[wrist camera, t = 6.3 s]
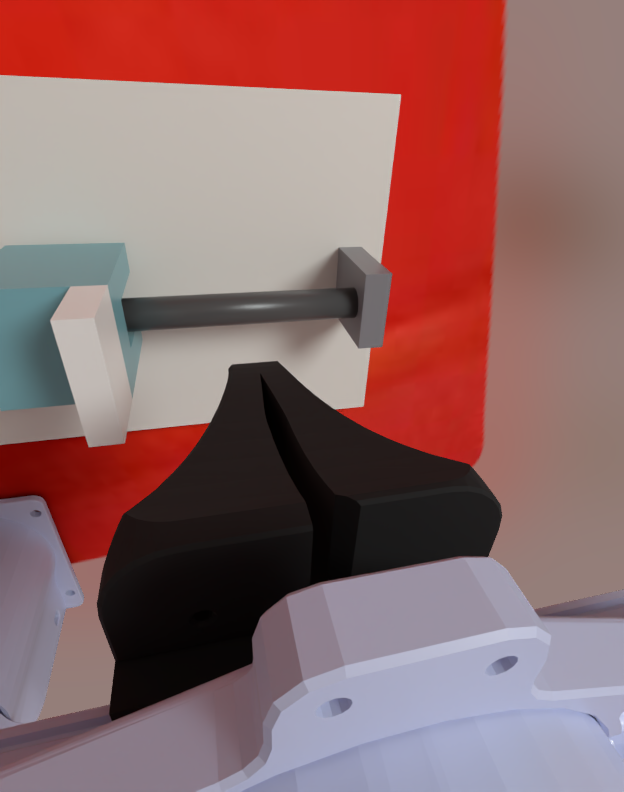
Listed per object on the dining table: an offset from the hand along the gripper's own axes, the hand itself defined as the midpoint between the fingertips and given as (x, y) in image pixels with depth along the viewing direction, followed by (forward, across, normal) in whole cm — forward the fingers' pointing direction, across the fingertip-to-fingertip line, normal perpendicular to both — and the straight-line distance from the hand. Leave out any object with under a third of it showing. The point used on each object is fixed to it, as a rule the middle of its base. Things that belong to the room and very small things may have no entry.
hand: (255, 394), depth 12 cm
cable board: (+9, +3, 0) cm, 10 cm away
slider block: (+8, +6, 0) cm, 10 cm away
